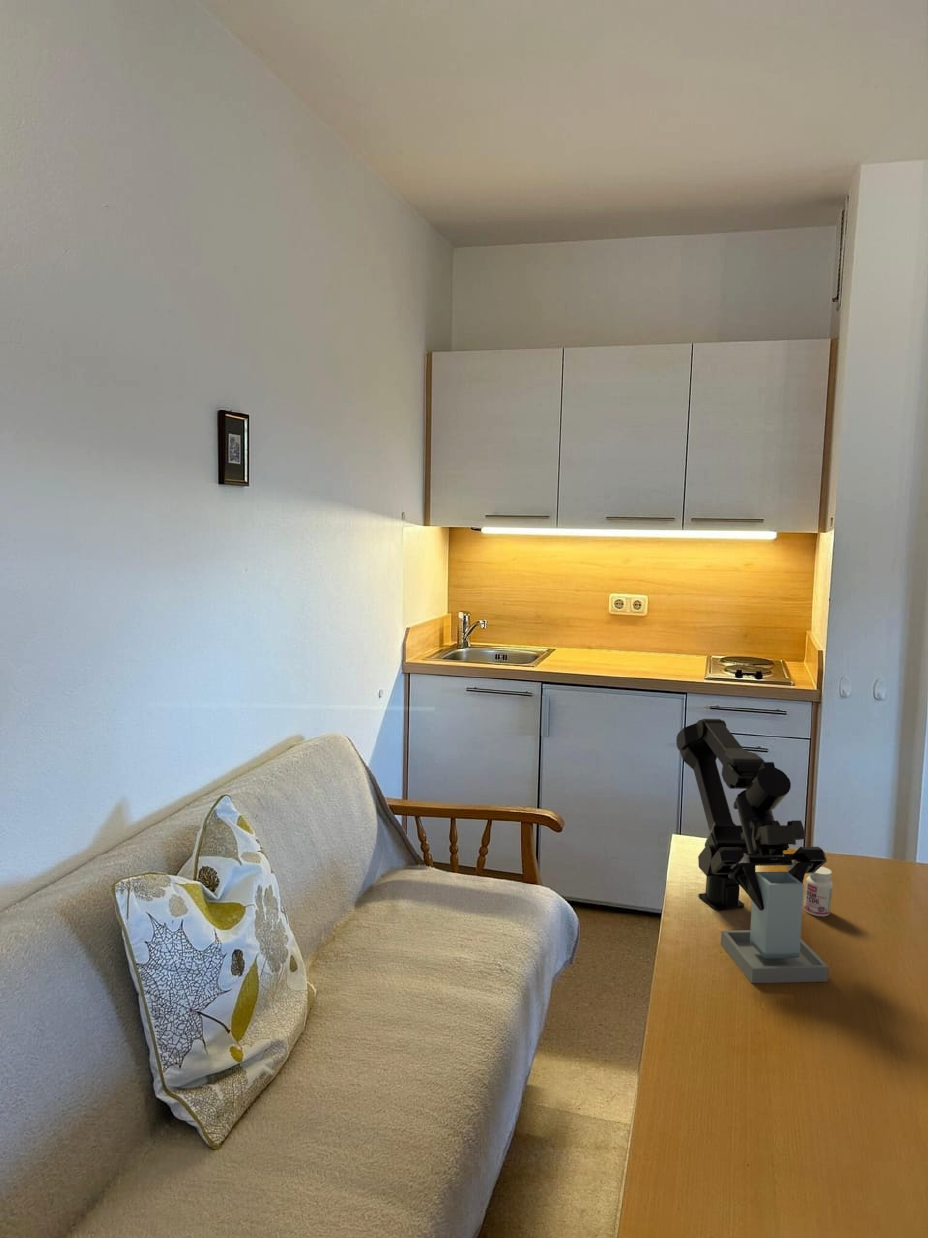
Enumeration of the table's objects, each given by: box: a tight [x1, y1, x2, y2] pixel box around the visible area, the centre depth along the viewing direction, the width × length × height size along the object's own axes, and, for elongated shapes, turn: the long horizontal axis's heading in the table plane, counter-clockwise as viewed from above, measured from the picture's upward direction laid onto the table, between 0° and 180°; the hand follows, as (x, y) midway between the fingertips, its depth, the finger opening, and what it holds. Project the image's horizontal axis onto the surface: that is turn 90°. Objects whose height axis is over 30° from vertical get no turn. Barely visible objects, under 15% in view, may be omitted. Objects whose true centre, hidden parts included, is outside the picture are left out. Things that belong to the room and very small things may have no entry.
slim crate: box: [749, 871, 805, 958], centre depth 152 cm, size 6×6×12 cm
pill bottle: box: [803, 866, 834, 918], centre depth 173 cm, size 5×5×8 cm
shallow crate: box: [720, 929, 830, 984], centre depth 153 cm, size 13×13×2 cm
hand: (780, 909), depth 151 cm, fingers closed on slim crate, 6 cm apart
